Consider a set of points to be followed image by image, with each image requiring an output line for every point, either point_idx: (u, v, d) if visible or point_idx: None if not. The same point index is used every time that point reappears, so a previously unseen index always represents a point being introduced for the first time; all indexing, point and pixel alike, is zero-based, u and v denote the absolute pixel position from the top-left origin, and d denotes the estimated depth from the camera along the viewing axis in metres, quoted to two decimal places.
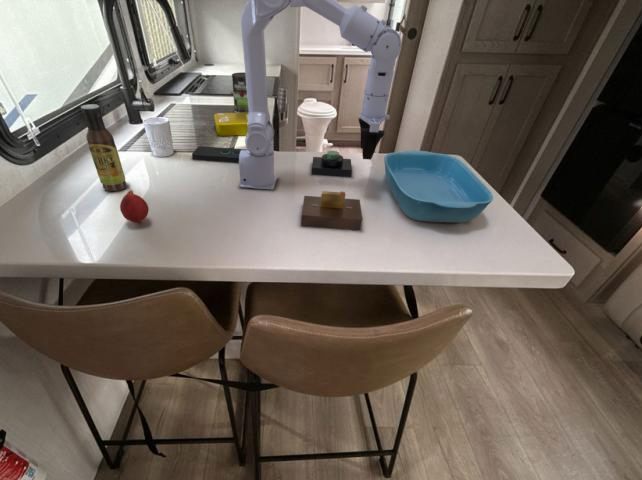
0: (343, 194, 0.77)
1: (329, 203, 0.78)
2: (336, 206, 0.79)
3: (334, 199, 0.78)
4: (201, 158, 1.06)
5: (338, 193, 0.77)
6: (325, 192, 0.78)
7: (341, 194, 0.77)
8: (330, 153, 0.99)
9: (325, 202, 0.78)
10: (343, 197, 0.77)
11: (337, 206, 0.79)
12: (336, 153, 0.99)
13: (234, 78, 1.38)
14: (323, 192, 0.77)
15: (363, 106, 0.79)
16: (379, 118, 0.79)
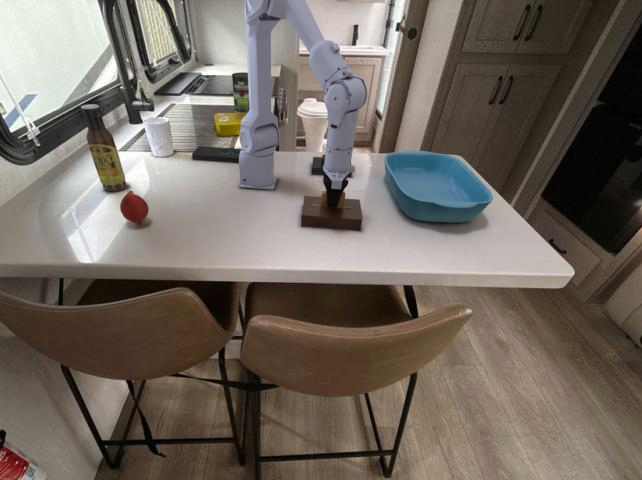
0: (343, 194, 0.77)
1: None
2: None
3: None
4: (201, 158, 1.06)
5: None
6: (325, 192, 0.78)
7: None
8: None
9: (325, 202, 0.78)
10: (343, 197, 0.77)
11: (337, 206, 0.79)
12: None
13: (234, 78, 1.38)
14: (323, 192, 0.77)
15: (325, 158, 0.71)
16: (343, 172, 0.71)
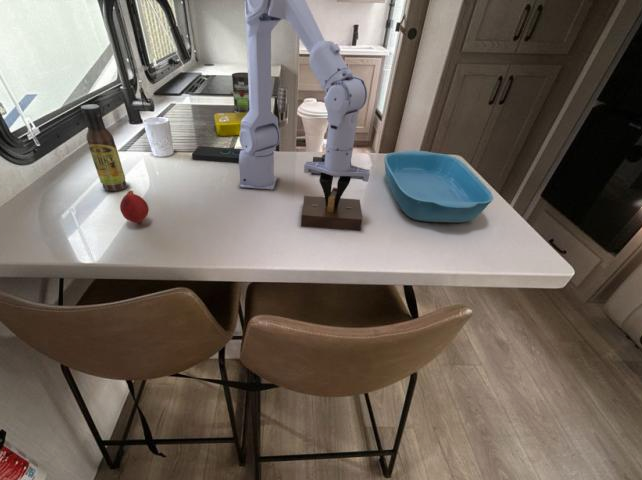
0: None
1: (334, 204, 0.78)
2: None
3: None
4: (201, 158, 1.06)
5: (334, 191, 0.78)
6: (331, 196, 0.76)
7: None
8: None
9: None
10: None
11: None
12: None
13: (234, 78, 1.38)
14: (332, 197, 0.76)
15: (339, 163, 0.70)
16: (349, 166, 0.74)
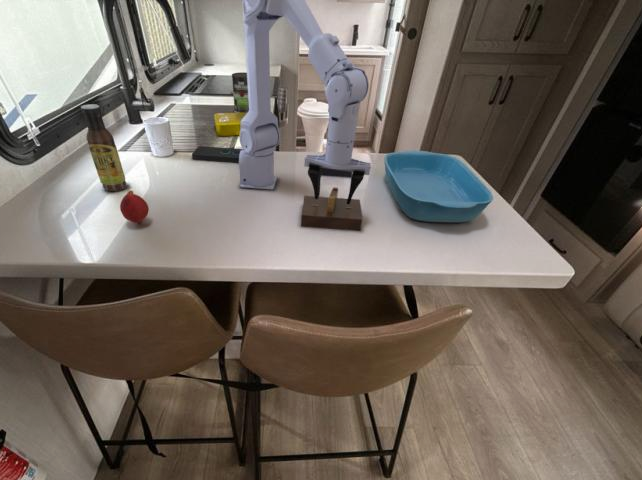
0: (337, 189, 0.79)
1: (334, 204, 0.78)
2: (335, 203, 0.80)
3: (336, 198, 0.78)
4: (201, 158, 1.06)
5: (334, 191, 0.78)
6: (331, 196, 0.76)
7: (337, 189, 0.78)
8: None
9: (334, 205, 0.78)
10: None
11: (336, 202, 0.80)
12: None
13: (234, 78, 1.38)
14: (332, 197, 0.76)
15: (340, 156, 0.69)
16: (350, 160, 0.73)
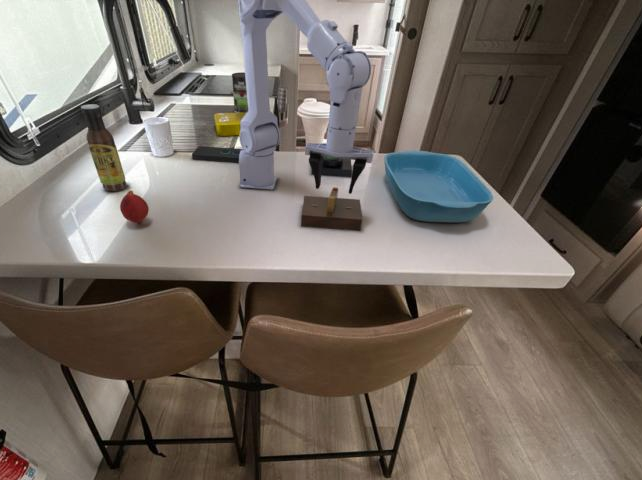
0: (337, 189, 0.79)
1: (334, 204, 0.78)
2: (335, 203, 0.80)
3: (336, 198, 0.78)
4: (201, 158, 1.06)
5: (334, 191, 0.78)
6: (331, 196, 0.76)
7: (337, 189, 0.78)
8: None
9: (334, 205, 0.78)
10: None
11: (336, 202, 0.80)
12: None
13: (234, 78, 1.38)
14: (332, 197, 0.76)
15: (342, 143, 0.67)
16: None
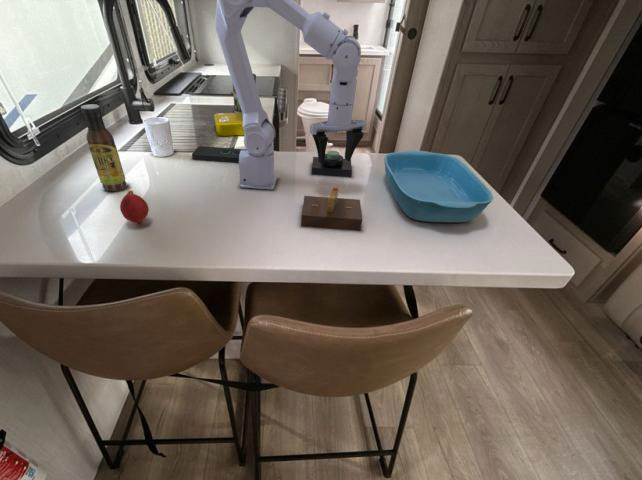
0: (337, 189, 0.79)
1: (334, 204, 0.78)
2: (335, 203, 0.80)
3: (336, 198, 0.78)
4: (201, 158, 1.06)
5: (334, 191, 0.78)
6: (331, 196, 0.76)
7: (337, 189, 0.78)
8: (330, 153, 0.99)
9: (334, 205, 0.78)
10: None
11: (336, 202, 0.80)
12: (336, 153, 0.99)
13: None
14: (332, 197, 0.76)
15: (348, 117, 0.78)
16: None
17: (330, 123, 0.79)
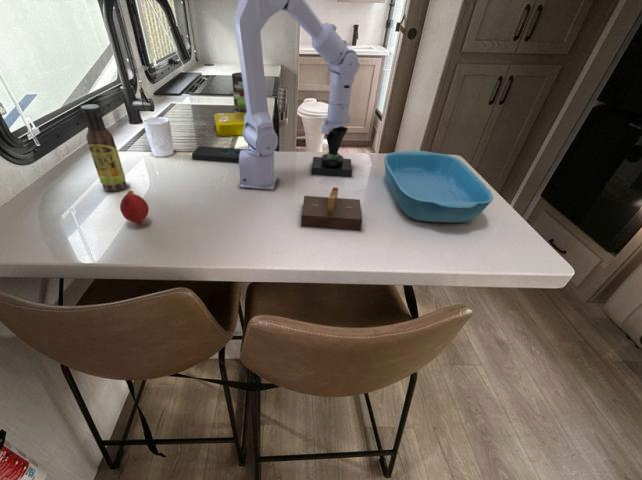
0: (337, 189, 0.79)
1: (334, 204, 0.78)
2: (335, 203, 0.80)
3: (336, 198, 0.78)
4: (201, 158, 1.06)
5: (334, 191, 0.78)
6: (331, 196, 0.76)
7: (337, 189, 0.78)
8: (330, 154, 0.99)
9: (334, 205, 0.78)
10: None
11: (336, 202, 0.80)
12: (336, 154, 1.00)
13: (234, 78, 1.38)
14: (332, 197, 0.76)
15: (347, 114, 0.92)
16: None
17: (335, 122, 0.92)
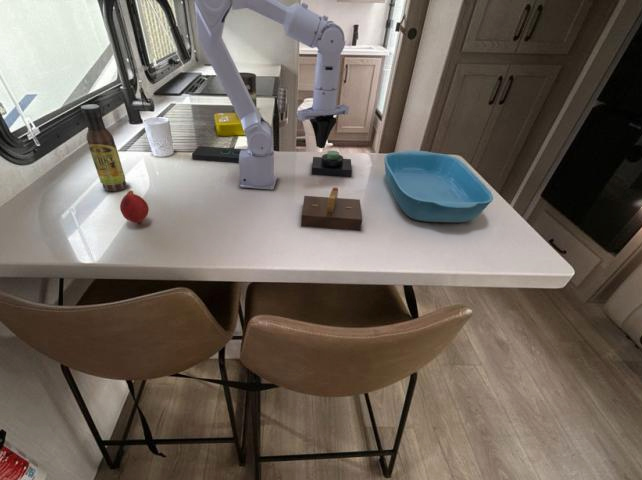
0: (337, 189, 0.79)
1: (334, 204, 0.78)
2: (335, 203, 0.80)
3: (336, 198, 0.78)
4: (201, 158, 1.06)
5: (334, 191, 0.78)
6: (331, 196, 0.76)
7: (337, 189, 0.78)
8: (330, 153, 0.99)
9: (334, 205, 0.78)
10: None
11: (336, 202, 0.80)
12: (336, 153, 0.99)
13: None
14: (332, 197, 0.76)
15: (334, 102, 0.80)
16: None
17: (317, 109, 0.81)
